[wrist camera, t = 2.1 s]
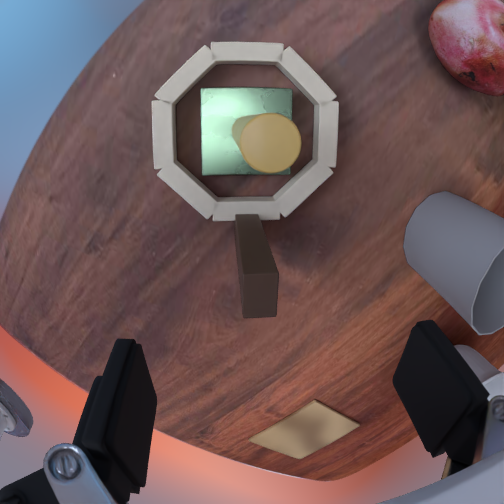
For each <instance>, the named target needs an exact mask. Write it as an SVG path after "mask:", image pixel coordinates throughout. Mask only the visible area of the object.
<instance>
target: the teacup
mask: <svg viewBox="0 0 504 504" xmlns="http://www.w3.org/2000/svg"><path fill="white" fill-rule="evenodd" d="M454 347H455V348H456V349H457V351H458V352H459V353H460V354H461V356H462V357H463V358H464V360H465V361H466V362H467V364H468V365H469V366H470V368H471V369H472V370H473V372H474V373H475V374H476V376H477V377H478V378H479V380H480V381H481V383H482V384H483V385H484V387H485V388H486V390H487V391H488V392H489V394H490V395H489V397H488V398H487V399H488V400H489V401H490V400H491V398H493V397H494V396H497V395H503V396H504V372H500V371H499V370H498V369H496V368H495V367H494V366H493V365H492V364H490V363H489V362H488V361H487V360H486V359H485V358H484V357H483V356H482V355H480V354H479V353H478V352H477V351H475V350H474V349H473V348H471V347H469V346H466V345H454Z"/></svg>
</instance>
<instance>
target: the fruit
mask: <svg viewBox="0 0 504 504" xmlns="http://www.w3.org/2000/svg"><path fill="white" fill-rule="evenodd" d="M428 30H429V37H430V40H431V43H432V46H433V48H434V51H435V53H436V55H437V57H438V59H439V60H440V62H441V63H442V65H443V66H444V68H445V69H446V70H447V71H448V72H449V73H450V74H451V75H452V76H453V77H454V78H455V79H456V80H458V81H459V82H461V83H462V84H464V85H466V86H467V87H469V88H471V89H473V90H475V91H478V92H481V93H484V94H487V95H492V96H502V95H504V3H502V2H501V1H500V0H443V1H442V2H441V3H439V4H438V5H437V7H436V8H435V9H434V11H433V13H432V15H431V17H430V20H429V27H428Z"/></svg>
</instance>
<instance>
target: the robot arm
mask: <svg viewBox="0 0 504 504" xmlns="http://www.w3.org/2000/svg"><path fill="white" fill-rule="evenodd" d="M393 385H394V387H395V389H396V391H397V393H398V395H399V397H400V399H401V401H402V403H403V404H404V406H405V408H406V410H407V412H408V414H409V416H410V418H411V420H412V422H413V424H414V426H415V428H416V430H417V432H418V434H419V437H420V439H421V441H422V442H423V445H424V447H425V449H426V451H428V452H430V453H431V455H432V457H433V458H434V457H436V456H438V455H441V454H443V453H444V452H445V451H446V453H447V455H448V457H447V461H446V464H445V468H444V471H443V475H442V478H441V480H440V481H437V482H435V483H433V484H430V485H428V486H425V487H423V488H420V489H418V490H416V491H413V492H410V493H407V494H405V495H402V496H399V497H396V498H393V499H390V500H387V501H384V502H381V503H378V504H504V396H503V395H497V396H494V397H493V398H491V400H490V401H489V400H488V399H487V398H488V397H489V395H490V394H489V392H488V391H487V390H486V388H485V387H484V385H483V384H482V383H481V381H480V380H479V378H478V377H477V376H476V374H475V373H474V372H473V370H472V369H471V368H470V366H469V365H468V364H467V362H466V361H465V360H464V358H463V357H462V356H461V354H460V353H459V352H458V351H457V349H456V348H455V347H454V345H453V344H452V343H451V342H450V340H449V339H448V338H447V337H446V335H445V334H444V333H443V332H442V331H441V329H440V328H439V327H438V326H437V324H436V323H435V322H434V321H433V320H426V321H420V322H417V323H416V325H415V326H414V327H413V328H412V330H411V333H410V336H409V339H408V341H407V344H406V346H405V349H404V352H403V354H402V357H401V359H400V362H399V364H398V367H397V369H396V371H395V374H394V376H393ZM156 407H157V396H156V393H155V390H154V387H153V383H152V380H151V377H150V374H149V370H148V367H147V364H146V360H145V357H144V353H143V350H142V346H141V344H136V341H135V340H134V339H117V340H116V342H115V344H114V347H113V349H112V352H111V354H110V357H109V360H108V362H107V365H106V368H105V370H104V373H103V376H97V377H96V378H95V380H94V382H93V384H92V387H91V390H90V393H89V395H88V398H87V401H86V404H85V407H84V409H83V413H82V415H81V418H80V421H79V424H78V427H77V430H76V434H75V437H74V440H73V443H72V444H69V443H63V444H58V445H56V446H54V447H52V448H51V449H50V450H49V451H48V452H47V453H46V455H45V458H44V462H43V467H44V468H42V469H40V470H38V471H36V472H34V473H32V474H30V475H28V476H26V477H24V478H22V479H20V480H17V481H15V482H13V483H11V484H9V485H7V486H5V487H3V488H2V489H1V490H0V504H128V503H127V502H128V501H129V498H130V493H136V494H139V491H140V487H145V484H146V477H147V469H148V461H149V453H150V446H151V439H152V432H153V426H154V420H155V414H156ZM15 426H16V422H15V419H14V418H13V416H12V414H11V413H10V412H9V410H8V409H7V408H6V407H5V406H4V405H3V404H2V403H1V402H0V439H1V437H2V435H3V432H4V430H5V431H13V430H14V428H15Z"/></svg>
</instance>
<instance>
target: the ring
mask: <svg viewBox="0 0 504 504" xmlns="http://www.w3.org/2000/svg"><path fill="white" fill-rule="evenodd" d="M217 64H257V65H275V66H276V67H277V68H278V69H279V70H280V71H281V72H282V73H283V74H284V75H285V76H286V77H287V78H288V79H289V80H290V81H291V82H292V83H293V84H294V85H295V86H296V87H297V88H298V89H299V90H300V91H301V92H302V93H303V94H304V95H305V96H306V97H307V98H308V99H309V100H310V102H311V103H312V104H313V105H314V130H313V155H312V160H311V161H310V162H309V163H307V164H306V165H305V166H304V167H303V168H302V169H301V170H300V171H299V172H298V173H297V174H296V175H295V176H294V177H293V178H292V179H290V180H289V181H288V182H287V183H286V184H285V185H284V186H283V187H282V188H281V189H280V190H279V191H278V192H277V193H276V194H275V195H274V196H259V197H217V196H216V195H215V194H214V193H213V192H212V191H210V190H209V189H208V188H207V187H206V186H205V185H204V184H203V183H202V182H201V181H199V180H198V179H197V178H196V177H195V176H194V175H193V174H192V173H191V172H189V171H188V170H187V169H186V168H185V167H184V166H183V165H182V164H181V163H179V162H178V161H177V149H176V104H177V103H178V102H179V101H180V100H181V99H182V98H183V97H184V96H185V95H186V94H187V93H188V92H189V91H190V90H191V89H192V88H193V87H194V86H195V85H196V84H197V83H198V82H199V81H200V80H201V79H202V78H203V77H204V76H205V75H206V74H207V73H208V72H209V71H210V70H211V69H212V68H213V67H214V66H216V65H217ZM155 96H156V97H157V98H158V99H159V100H154V101H152V132H153V155H154V169H161V170H160V172H159V173H158V174H157V175H158V176H159V177H160V178H161V179H162V180H163V181H164V182H165V183H167V184H168V185H169V186H170V187H171V188H172V189H173V190H174V191H176V192H177V193H178V194H179V195H180V196H181V197H182V198H183V199H185V200H186V201H187V202H188V203H189V204H190V205H191V206H192V207H194V208H195V209H196V210H197V211H198V212H199V213H200V214H202V215H203V216H204V217H205V218H206V219H208V218H209V217H210V216H211V215H212V214H213V221H235V245H236V255H237V265H238V275H239V284H240V294H241V303H242V313H243V318H262V317H276V315H277V299H278V282H279V272H278V270H277V267H276V264H275V261H274V258H273V255H272V252H271V249H270V246H269V244H268V241H267V238H266V235H265V232H264V229H263V226H262V224H261V221H260V220H280V213H281V214H282V215H283V216H284V217H285V218H286V217H287V216H288V215H289V214H290V213H291V212H292V211H293V210H294V209H295V208H296V207H298V206H299V205H300V204H301V203H302V202H303V201H304V200H305V199H306V198H307V197H308V196H309V195H310V194H311V193H312V192H314V191H315V190H316V189H317V188H318V187H319V186H320V185H321V184H322V183H323V182H324V181H325V180H326V179H327V178H329V177H330V176H331V175H332V174H333V171H332V170H331V169H330V168H329V167H336V157H337V139H338V114H339V102H337V101H332V100H333V99H334V98H336V97H337V96H336V95H335V93H334V92H333V91H332V90H331V89H330V88H329V87H328V85H327V84H326V83H325V82H324V81H323V80H322V79H321V78H320V77H319V76H318V75H317V74H316V72H315V71H314V70H313V69H312V68H311V67H310V66H309V65H308V64H307V63H306V62H305V61H304V60H303V59H302V58H301V57H300V56H299V55H298V54H297V53H296V52H295V51H294V50H293V49H292V48H291V47H290V46H289V47H288V48H286V49H285V50H284V44H281V43H263V42H212V43H211V49H210V48H209V47H207V46H206V45H204V46H203V47H202V48H201V49H200V50H199V51H198V52H196V53H195V54H194V55H193V56H192V57H191V58H190V59H189V60H188V61H187V62H186V63H185V64H184V65H183V66H182V67H181V68H180V69H179V70H178V71H177V72H176V73H175V74H174V75H173V76H172V77H171V78H170V79H169V80H168V81H167V82H166V83H165V84H164V85H163V86H162V87H161V88H160V89H159V90H158V91H157V92H156V93H155Z"/></svg>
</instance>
